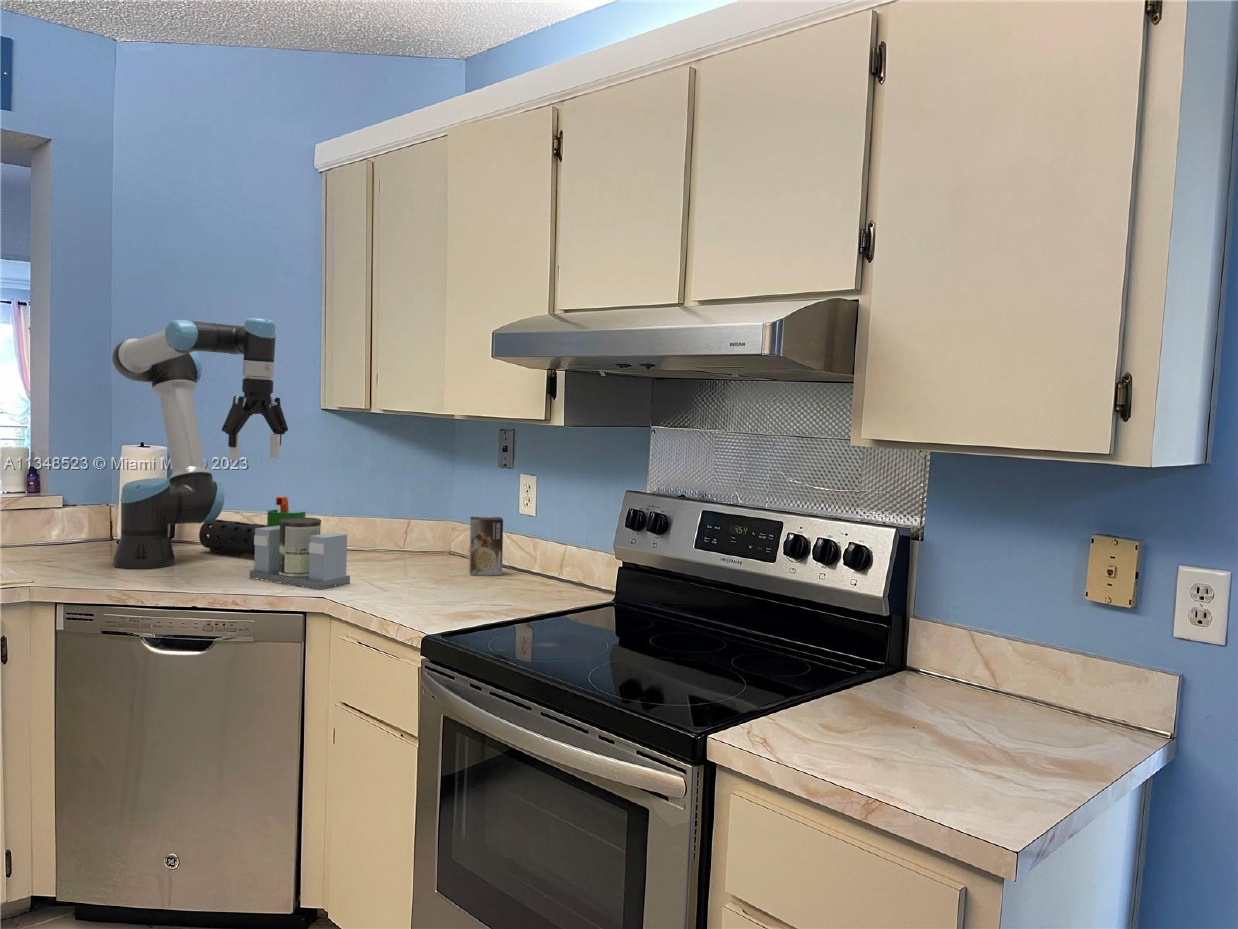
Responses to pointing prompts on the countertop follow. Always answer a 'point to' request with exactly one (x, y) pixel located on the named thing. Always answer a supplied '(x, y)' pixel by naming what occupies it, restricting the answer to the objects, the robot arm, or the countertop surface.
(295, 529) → the coffee can
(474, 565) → the coffee box
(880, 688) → the countertop surface
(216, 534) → the muzzle brake
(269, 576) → the rail plate
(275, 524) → the green tall piece
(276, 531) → the mounted blocks
